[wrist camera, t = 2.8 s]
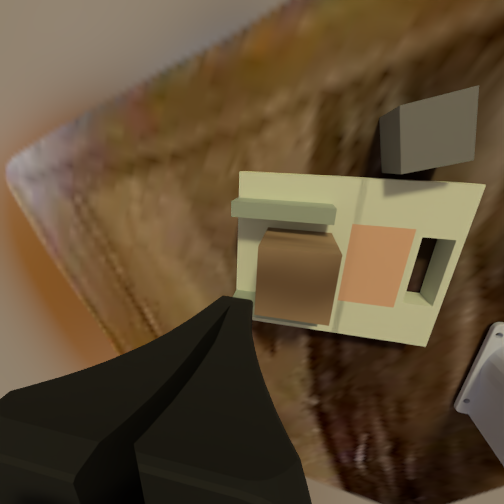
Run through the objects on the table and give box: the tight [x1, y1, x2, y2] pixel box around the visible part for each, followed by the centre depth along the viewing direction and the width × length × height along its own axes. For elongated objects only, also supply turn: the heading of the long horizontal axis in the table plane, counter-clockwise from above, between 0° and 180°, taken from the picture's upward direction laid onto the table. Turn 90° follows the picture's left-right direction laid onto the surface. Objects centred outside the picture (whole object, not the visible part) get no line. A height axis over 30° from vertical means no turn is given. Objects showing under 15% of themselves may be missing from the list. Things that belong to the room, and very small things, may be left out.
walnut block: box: [254, 227, 342, 326], centre depth 16 cm, size 4×4×4 cm
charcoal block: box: [379, 86, 479, 174], centre depth 14 cm, size 4×4×4 cm
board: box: [231, 171, 486, 347], centre depth 17 cm, size 12×15×4 cm
